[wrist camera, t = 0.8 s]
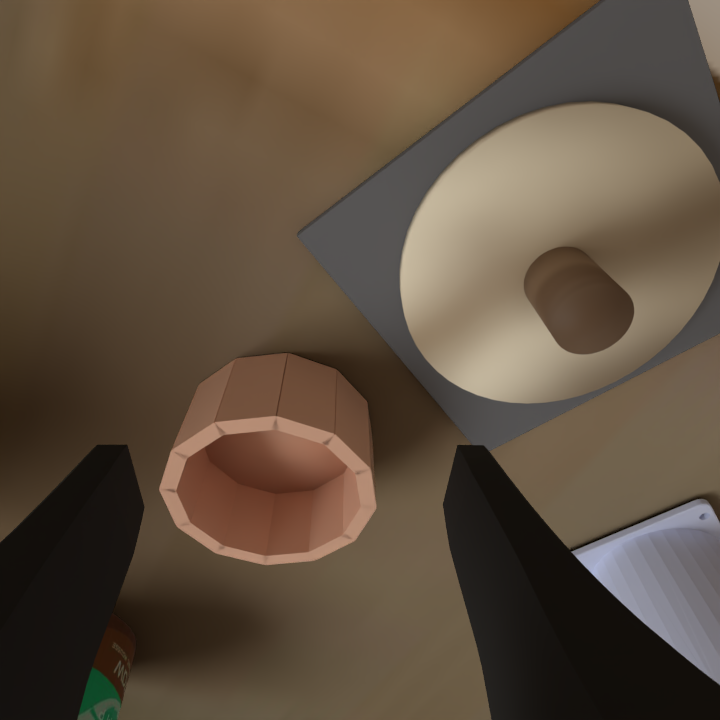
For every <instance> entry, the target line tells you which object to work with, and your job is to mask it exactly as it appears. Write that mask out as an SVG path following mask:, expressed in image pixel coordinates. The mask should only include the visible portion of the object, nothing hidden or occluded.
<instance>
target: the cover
mask: <svg viewBox="0 0 720 720" xmlns="http://www.w3.org/2000/svg"><path fill="white" fill-rule="evenodd" d="M719 262H720V182H719V180H718V178H717V175H716V173H715V171H714V169H713V166H712V164H711V163H710V161H709V160H708V158H707V157H706V155H705V154H704V152H703V151H702V149H701V148H700V147H699V146H698V145H697V144H696V143H695V142H694V141H693V140H692V139H691V138H690V137H689V136H688V135H687V134H686V133H685V132H683V131H682V130H680V129H679V128H677V127H676V126H674V125H673V124H672V123H670V122H669V121H667V120H664V119H662V118H660V117H658V116H655V115H653V114H651V113H649V112H645V111H642V110H638V109H635V108H631V107H627V106H623V105H619V104H615V103H606V102H595V101H586V102H568V103H563V104H558V105H553V106H548V107H543V108H540V109H537V110H534V111H531V112H528V113H525V114H522V115H519V116H517V117H515V118H513V119H511V120H509V121H507V122H505V123H503V124H501V125H499V126H497V127H495V128H494V129H492V130H491V131H489V132H488V133H486V134H485V135H483V136H481V137H480V138H478V139H477V140H475V141H474V142H473V143H472V144H471V145H469V146H468V147H467V148H466V149H465V150H463V151H462V152H461V153H460V154H459V155H457V156H456V157H455V159H454V160H453V161H452V162H451V163H450V164H449V165H448V166H447V167H446V168H445V169H444V170H443V171H442V172H441V173H440V175H439V176H438V177H437V179H436V180H435V181H434V183H433V184H432V185H431V187H430V188H429V189H428V191H427V192H426V194H425V196H424V197H423V199H422V201H421V203H420V204H419V206H418V208H417V210H416V211H415V214H414V216H413V219H412V221H411V223H410V226H409V228H408V231H407V234H406V238H405V241H404V245H403V249H402V254H401V262H400V293H401V300H402V306H403V311H404V316H405V319H406V322H407V325H408V329H409V332H410V334H411V336H412V338H413V340H414V342H415V344H416V346H417V347H418V349H419V350H420V352H421V353H422V355H423V356H424V358H425V359H426V360H427V361H428V362H429V363H430V364H431V365H432V367H433V368H434V369H435V370H436V371H437V372H439V373H440V374H441V375H442V376H444V377H445V378H446V379H447V380H449V381H450V382H452V383H454V384H455V385H457V386H459V387H460V388H462V389H464V390H466V391H469V392H471V393H473V394H476V395H478V396H482V397H485V398H489V399H492V400H497V401H503V402H509V403H526V404H529V403H546V402H553V401H560V400H565V399H569V398H573V397H577V396H581V395H584V394H586V393H589V392H592V391H595V390H598V389H600V388H602V387H605V386H607V385H609V384H611V383H613V382H616V381H617V380H619V379H621V378H623V377H624V376H626V375H628V374H630V373H631V372H633V371H635V370H636V369H638V368H639V367H640V366H642V365H643V364H645V363H646V362H648V361H649V360H650V359H651V358H653V357H654V356H655V355H656V354H657V353H659V352H660V351H661V350H662V349H663V348H664V347H666V346H667V345H668V344H669V343H670V341H671V340H672V339H673V338H674V337H675V336H676V335H677V334H678V333H679V332H680V331H681V330H682V329H683V327H684V326H685V325H686V324H687V322H688V321H689V320H690V319H691V317H692V316H693V315H694V313H695V312H696V310H697V308H698V307H699V305H700V304H701V302H702V301H703V299H704V297H705V295H706V293H707V291H708V289H709V287H710V285H711V283H712V281H713V279H714V276H715V273H716V270H717V268H718V265H719Z"/></svg>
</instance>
